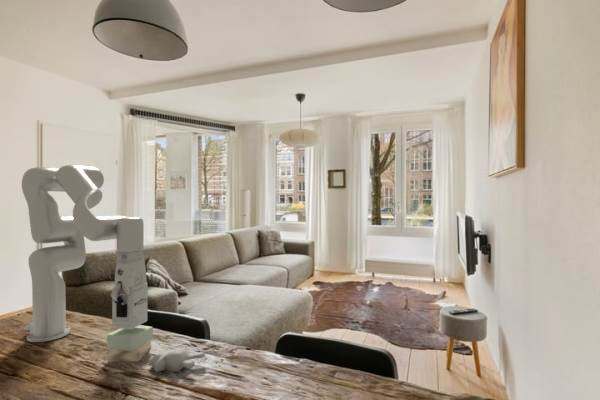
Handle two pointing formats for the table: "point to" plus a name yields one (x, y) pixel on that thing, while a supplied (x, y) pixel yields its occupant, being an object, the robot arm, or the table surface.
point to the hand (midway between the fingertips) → (130, 312)
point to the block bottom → (128, 353)
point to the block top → (129, 338)
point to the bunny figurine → (174, 360)
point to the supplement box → (132, 308)
